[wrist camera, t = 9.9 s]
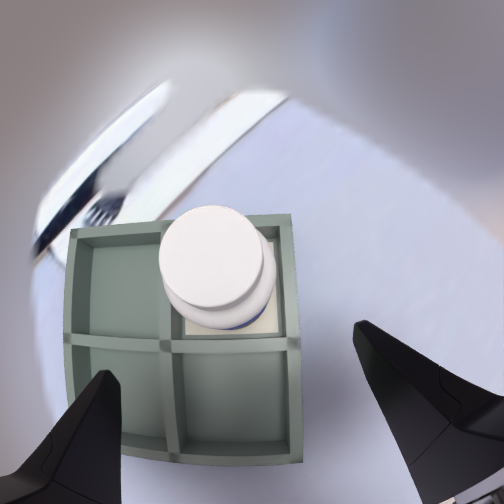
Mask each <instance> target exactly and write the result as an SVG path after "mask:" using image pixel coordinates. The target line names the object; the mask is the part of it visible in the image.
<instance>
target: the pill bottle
mask: <svg viewBox="0 0 504 504" xmlns="http://www.w3.org/2000/svg"><path fill="white" fill-rule="evenodd" d="M159 266H160V271H161V274H162V277H163V284H164V288H165V292H166V294H167V296H168V298H169V300H170V302H171V304H172V305H173V307H174V308H175V309H176V310H177V311H178V312H179V313H180V314H181V315H182V316H183V317H184V318H186V319H187V320H189V321H191V322H192V323H194V324H197V325H199V326H202V327H206V328H210V329H217V330H237V329H241V328H244V327H246V326H248V325H250V324H251V323H253V322H254V321H255V320H257V319H258V318H259V317H260V315H261V314H262V313H263V311H264V310H265V308H266V306H267V304H268V301H269V299H270V297H271V295H272V292H273V289H274V286H275V281H276V261H275V257H274V254H273V251H272V249H271V247H270V245H269V243H268V241H267V240H266V238H265V237H264V236H263V235H262V234H261V233H260V232H259V231H258V230H257V229H256V228H255V227H254V226H253V224H252V223H251V222H250V221H249V220H248V219H247V218H246V217H245V216H244V215H242V214H241V213H239V212H237V211H235V210H233V209H231V208H228V207H224V206H217V205H208V206H201V207H197V208H194V209H191V210H189V211H187V212H186V213H184V214H182V215H181V216H180V217H178V218H177V219H176V220H175V221H174V222H173V223H172V224H171V225H170V227H169V228H168V230H167V231H166V233H165V235H164V236H163V239H162V242H161V245H160V249H159Z"/></svg>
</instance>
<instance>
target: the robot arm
mask: <svg viewBox="0 0 504 504" xmlns="http://www.w3.org/2000/svg"><path fill="white" fill-rule="evenodd" d="M353 343H354V346H355V349H356V352H357V355H358V357H359V360H360V363H361V366H362V368H363V371H364V374H365V377H366V379H367V381H368V384H369V386H370V388H371V390H372V392H373V394H374V396H375V398H376V400H377V402H378V404H379V406H380V408H381V410H382V412H383V415H384V417H385V419H386V421H387V423H388V425H389V427H390V429H391V432H392V434H393V436H394V438H395V440H396V442H397V445H398V447H399V449H400V451H401V453H402V456H403V458H404V460H405V462H406V465H407V467H408V470H409V472H410V474H411V477H412V479H413V481H414V484H415V486H416V488H417V491H418V493H419V496H420V498H421V501H422V503H423V504H439V503H441V502H443V501H446V500H448V499H450V498H452V497H454V499H455V502H453V504H504V396H500V395H496V394H494V393H492V392H489V391H487V390H485V389H483V388H481V387H479V386H476V385H474V384H472V383H470V382H468V381H466V380H464V379H462V378H460V377H458V376H457V375H455V374H453V373H451V372H450V371H448V370H446V369H445V368H443V367H441V366H439V365H438V364H436V363H435V362H433V361H432V360H430V359H428V358H427V357H425V356H424V355H422V354H420V353H419V352H417V351H416V350H414V349H412V348H411V347H409V346H407V345H406V344H404V343H403V342H401V341H399V340H398V339H396V338H395V337H393V336H391V335H390V334H388V333H386V332H385V331H383V330H382V329H380V328H378V327H377V326H375V325H374V324H372V323H370V322H369V321H367V320H362V321H359V322H356V323H355V324H354V331H353ZM121 433H122V408H121V385H120V383H119V381H118V380H117V378H116V377H115V376H114V374H113V373H112V372H111V371H110V370H108V369H106V370H99V371H98V372H97V374H96V375H95V376H94V377H93V378H92V380H91V381H90V382H89V383H88V385H87V386H86V387H85V388H84V389H83V391H82V392H81V393H80V394H79V396H78V397H77V398H76V399H75V401H74V402H73V403H72V404H71V406H70V407H69V408H68V409H67V411H66V412H65V413H64V414H63V416H62V417H61V418H60V420H59V421H58V422H57V423H56V425H55V426H54V427H53V429H52V430H51V432H49V434H48V435H47V436H46V438H45V439H44V440H43V442H42V443H41V444H40V445H39V446H38V447H37V449H36V450H35V451H34V452H33V453H32V454H31V455H30V457H29V458H28V459H27V460H26V461H25V462H24V463H23V464H22V465H21V467H20V468H19V469H18V470H17V471H15V472H14V473H12V474H10V475H7V476H2V477H0V504H121Z"/></svg>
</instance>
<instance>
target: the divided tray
mask: <svg viewBox="0 0 504 504" xmlns="http://www.w3.org/2000/svg"><path fill="white" fill-rule="evenodd" d="M245 217H246V218H247V219H248V220H249V221H250V222H251V223H252V224H253V226H254V227H255V228H256V229H257V230H258V231H259V232H260V233H261V234H262V235H263V236H264V237H265V238H266V240H267V241H268V243H269V245H270V247H271V249H272V251H273V254H274V257H275V261H276V281H275V286H274V289H273V292H272V295H271V297H270V299H269V301H268V304H267V306H266V308H265V310H264V311H263V313H262V314H261V315H260V317H259V318H258V319H257V320H255V321H254V322H253V323H251V324H250V325H248V326H246V327H244V328H241V329H237V330H217V329H210V328H206V327H202V326H199V325H197V324H194V323H192V322H191V321H189V320H187V319H186V318H184V317H183V316H182V315H181V314H180V313H179V312H178V311H177V310H176V309H175V308H174V307H173V305H172V304H171V302H170V300H169V298H168V296H167V294H166V292H165V288H164V284H163V277H162V274H161V271H160V266H159V249H160V245H161V242H162V239H163V236H164V235H165V233H166V231H167V230H168V228H169V227H170V225H171V224H172V223H173V222H174V221H175V220H165V221H152V222H140V223H128V224H117V225H107V226H97V227H87V228H77V229H71V232H70V239H69V246H68V255H67V264H66V275H65V288H64V310H63V346H64V367H65V380H66V391H67V400H68V407H70V406H71V404H72V403H73V402H74V401H75V399H76V398H77V397H78V396H79V394H80V393H81V392H82V391H83V389H84V388H85V387H86V386H87V385H88V383H89V382H90V381H91V380H92V378H93V377H94V376H95V375H96V374H97V372H98V371H99V370H106V369H108V370H110V371H111V372H112V373H113V374H114V376H115V377H116V378H117V380H118V381H119V383H120V385H121V408H122V433H121V454H124V455H129V456H134V457H139V458H145V459H151V460H158V461H165V462H173V463H183V464H194V465H210V466H266V465H282V464H293V463H303V409H302V373H301V348H300V328H299V311H298V295H297V281H296V267H295V255H294V243H293V232H292V221H291V214H270V215H247V216H245Z"/></svg>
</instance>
